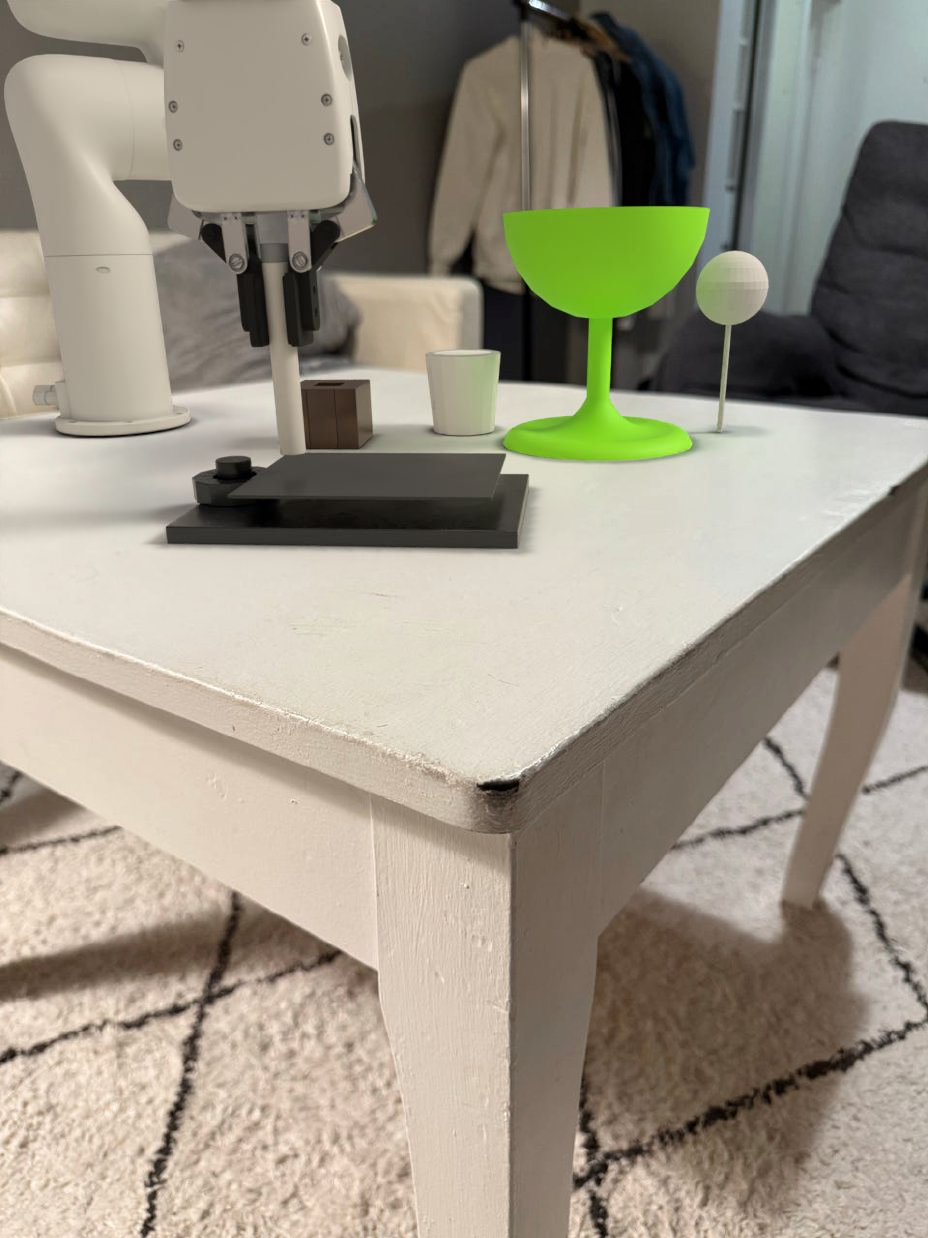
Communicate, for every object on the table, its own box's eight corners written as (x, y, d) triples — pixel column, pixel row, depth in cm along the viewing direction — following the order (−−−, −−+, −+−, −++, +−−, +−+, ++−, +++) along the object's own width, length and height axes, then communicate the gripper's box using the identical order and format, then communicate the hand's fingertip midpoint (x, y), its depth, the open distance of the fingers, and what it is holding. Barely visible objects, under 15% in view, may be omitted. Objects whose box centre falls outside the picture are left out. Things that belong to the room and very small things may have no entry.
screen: (227, 498, 52) (227, 495, 52) (288, 455, 63) (288, 452, 63) (491, 500, 50) (491, 497, 50) (506, 456, 61) (506, 453, 61)
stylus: (276, 455, 56) (255, 243, 51) (284, 450, 57) (264, 243, 53) (302, 455, 56) (283, 242, 51) (309, 450, 57) (291, 243, 53)
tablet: (154, 544, 52) (148, 502, 51) (237, 487, 65) (233, 452, 64) (517, 550, 50) (517, 505, 49) (528, 489, 63) (529, 453, 62)
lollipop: (758, 438, 78) (777, 249, 73) (687, 438, 79) (701, 251, 74) (749, 426, 84) (766, 250, 78) (683, 425, 85) (695, 251, 79)
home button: (212, 484, 57) (209, 462, 56) (224, 476, 59) (222, 455, 58) (246, 484, 56) (244, 462, 56) (257, 476, 59) (255, 455, 58)
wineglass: (546, 421, 88) (549, 217, 81) (712, 432, 81) (731, 211, 74) (470, 452, 75) (466, 212, 68) (661, 468, 68) (678, 203, 61)
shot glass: (494, 437, 81) (494, 355, 79) (419, 435, 82) (416, 355, 80) (506, 423, 87) (506, 347, 85) (436, 422, 89) (434, 348, 86)
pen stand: (290, 448, 78) (284, 388, 76) (308, 435, 84) (304, 379, 82) (359, 448, 77) (355, 388, 76) (373, 435, 83) (370, 379, 81)
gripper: (411, -14, 50) (423, 338, 57) (137, 2, 52) (181, 341, 58) (384, -57, 43) (402, 349, 50) (69, -37, 45) (128, 352, 51)
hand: (283, 342), depth 54 cm, fingers closed on stylus, 1 cm apart
